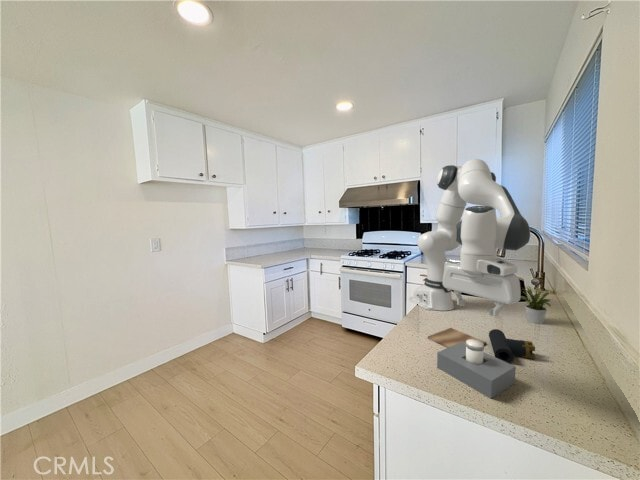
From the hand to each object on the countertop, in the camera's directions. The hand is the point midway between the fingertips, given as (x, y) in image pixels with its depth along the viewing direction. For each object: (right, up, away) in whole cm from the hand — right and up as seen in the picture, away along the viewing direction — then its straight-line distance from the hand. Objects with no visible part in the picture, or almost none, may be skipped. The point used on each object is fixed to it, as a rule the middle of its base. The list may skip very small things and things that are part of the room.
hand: (476, 310), depth 74 cm
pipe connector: (+20, -19, +13) cm, 30 cm away
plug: (0, -20, +2) cm, 20 cm away
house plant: (+46, -15, +37) cm, 61 cm away
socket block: (0, -20, +2) cm, 20 cm away
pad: (+6, -18, +22) cm, 29 cm away
